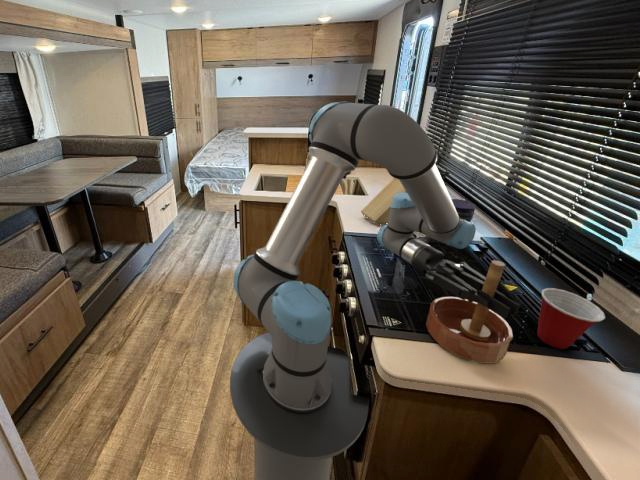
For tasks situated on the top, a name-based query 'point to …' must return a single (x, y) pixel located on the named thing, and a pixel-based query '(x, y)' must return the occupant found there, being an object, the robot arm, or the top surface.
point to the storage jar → (464, 209)
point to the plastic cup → (565, 317)
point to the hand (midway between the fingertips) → (512, 311)
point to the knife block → (388, 200)
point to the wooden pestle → (476, 324)
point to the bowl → (449, 335)
